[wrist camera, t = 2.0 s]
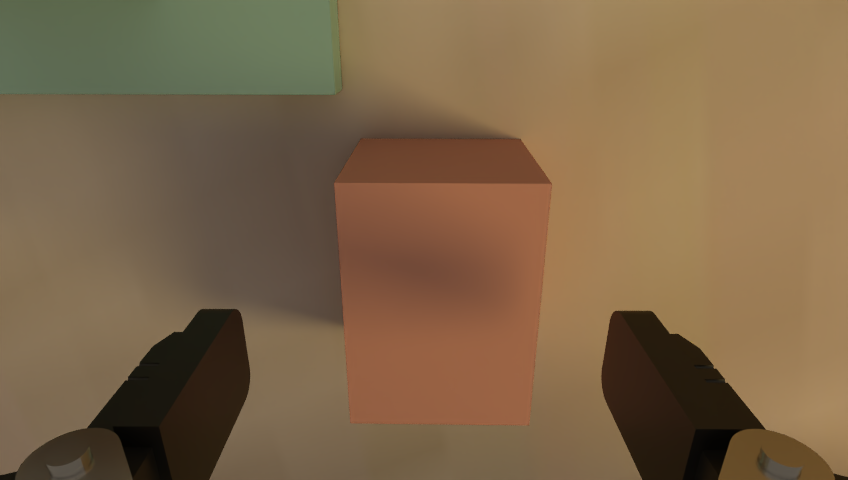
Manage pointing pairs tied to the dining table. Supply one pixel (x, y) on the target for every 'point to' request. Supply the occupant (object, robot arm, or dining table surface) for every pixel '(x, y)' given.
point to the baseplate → (170, 47)
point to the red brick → (441, 279)
